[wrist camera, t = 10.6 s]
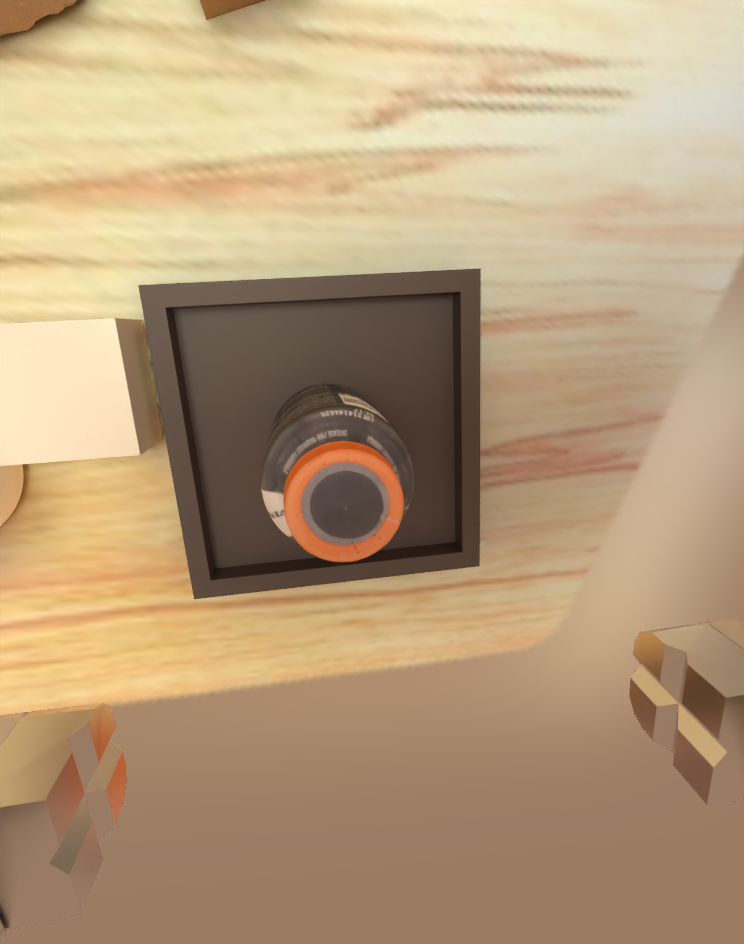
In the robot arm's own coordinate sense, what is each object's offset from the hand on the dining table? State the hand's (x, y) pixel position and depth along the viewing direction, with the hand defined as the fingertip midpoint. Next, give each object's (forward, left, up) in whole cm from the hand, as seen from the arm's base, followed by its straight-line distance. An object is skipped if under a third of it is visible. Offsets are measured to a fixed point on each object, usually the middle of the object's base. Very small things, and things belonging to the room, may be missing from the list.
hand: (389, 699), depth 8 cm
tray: (0, 0, -21) cm, 21 cm away
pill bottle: (0, 0, -20) cm, 20 cm away
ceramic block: (+12, -3, -21) cm, 24 cm away
